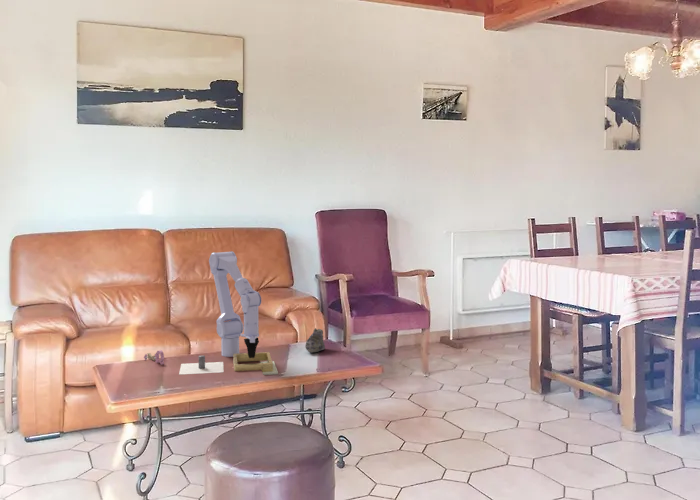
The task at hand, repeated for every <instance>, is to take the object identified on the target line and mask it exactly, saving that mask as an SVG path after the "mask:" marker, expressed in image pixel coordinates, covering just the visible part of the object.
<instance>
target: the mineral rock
mask: <svg viewBox="0 0 700 500" xmlns="http://www.w3.org/2000/svg"><path fill="white" fill-rule="evenodd" d="M323 334H324V330H323V329H322V328H321V329H320V328H318V329H317V328H314V329H313V331H312V334H311V335H310V336H309V337H308V339H306V342H305V347H304V348H305V350H306V351H307V352H309V353H317V352H320V351H323V350H325V349H326V346H325V341H324V335H323Z"/></svg>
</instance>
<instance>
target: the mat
mask: <svg viewBox="0 0 700 500" xmlns="http://www.w3.org/2000/svg"><path fill="white" fill-rule="evenodd" d="M259 363H267V360H264V361H259ZM272 363H273V371H269V372H262V371H261V372H262V376H266V375H278V374H279V371H278V369H277V365H276V363H275V360H272Z"/></svg>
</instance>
